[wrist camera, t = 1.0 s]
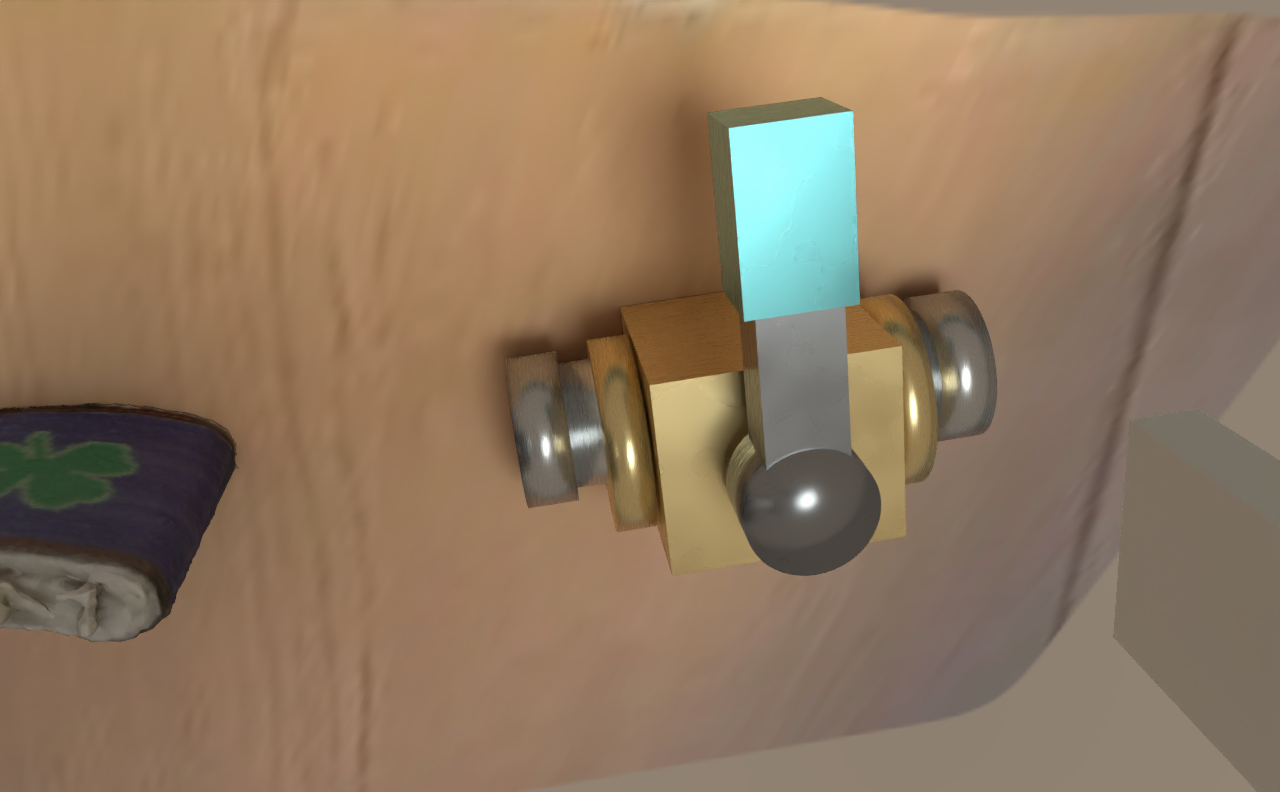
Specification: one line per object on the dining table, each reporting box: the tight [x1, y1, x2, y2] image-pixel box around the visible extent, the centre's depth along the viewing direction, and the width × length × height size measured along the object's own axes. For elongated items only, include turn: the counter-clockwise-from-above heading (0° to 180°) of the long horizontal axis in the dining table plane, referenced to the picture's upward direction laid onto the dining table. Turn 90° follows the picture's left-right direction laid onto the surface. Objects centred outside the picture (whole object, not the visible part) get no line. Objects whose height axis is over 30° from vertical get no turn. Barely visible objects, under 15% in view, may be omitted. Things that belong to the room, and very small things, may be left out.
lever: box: [707, 97, 881, 576], centre depth 28 cm, size 12×4×2 cm, turn 6°
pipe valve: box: [505, 290, 997, 576], centre depth 34 cm, size 15×6×8 cm, turn 97°
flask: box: [0, 404, 238, 642], centre depth 30 cm, size 9×3×11 cm, turn 85°
